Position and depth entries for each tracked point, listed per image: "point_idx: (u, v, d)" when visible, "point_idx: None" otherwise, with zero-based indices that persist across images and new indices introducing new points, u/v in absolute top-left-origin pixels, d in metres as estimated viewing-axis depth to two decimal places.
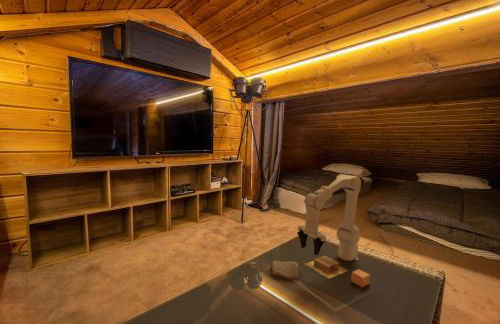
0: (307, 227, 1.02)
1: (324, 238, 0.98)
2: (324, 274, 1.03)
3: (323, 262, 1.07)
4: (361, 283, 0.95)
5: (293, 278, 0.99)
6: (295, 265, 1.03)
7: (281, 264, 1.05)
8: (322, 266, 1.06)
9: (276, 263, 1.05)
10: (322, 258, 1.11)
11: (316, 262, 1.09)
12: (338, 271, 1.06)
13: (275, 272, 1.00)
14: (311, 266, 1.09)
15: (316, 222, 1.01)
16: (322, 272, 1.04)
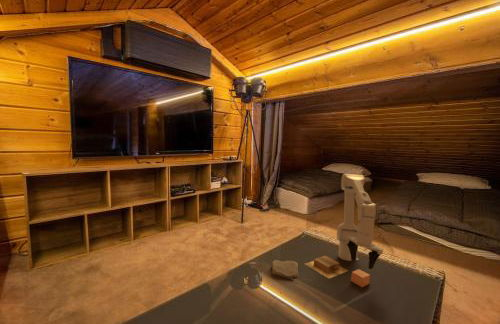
0: (360, 239, 0.95)
1: (381, 251, 0.91)
2: (324, 274, 1.03)
3: (323, 262, 1.07)
4: (361, 283, 0.95)
5: None
6: (295, 264, 1.04)
7: (281, 263, 1.05)
8: (322, 266, 1.06)
9: (276, 262, 1.06)
10: (322, 258, 1.11)
11: (316, 262, 1.09)
12: (338, 271, 1.06)
13: (275, 271, 1.00)
14: (311, 266, 1.09)
15: None
16: (322, 272, 1.04)
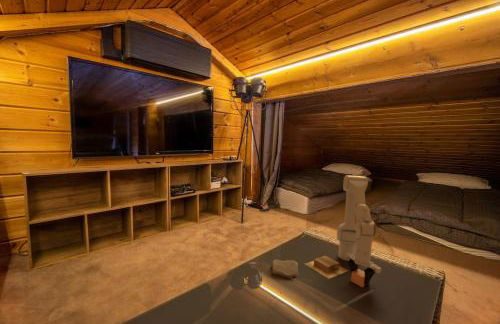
0: (359, 257, 0.96)
1: (379, 270, 0.92)
2: (324, 274, 1.03)
3: (323, 262, 1.07)
4: (361, 283, 0.95)
5: None
6: (295, 264, 1.05)
7: (281, 263, 1.06)
8: (322, 266, 1.06)
9: (276, 262, 1.06)
10: (322, 258, 1.11)
11: (316, 262, 1.09)
12: (338, 271, 1.06)
13: (275, 271, 1.01)
14: (311, 266, 1.09)
15: None
16: (322, 272, 1.04)
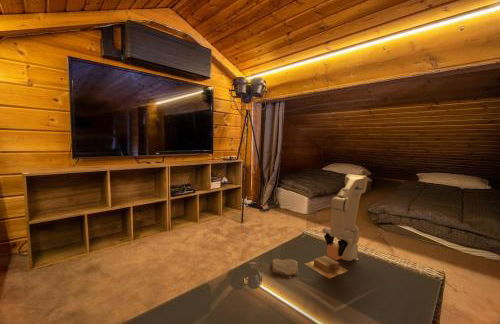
0: (333, 230, 1.04)
1: (351, 241, 1.00)
2: (324, 274, 1.03)
3: (323, 262, 1.07)
4: (335, 254, 1.03)
5: None
6: (295, 263, 1.05)
7: (281, 262, 1.07)
8: (322, 266, 1.06)
9: (276, 261, 1.07)
10: (322, 258, 1.11)
11: (316, 262, 1.09)
12: (338, 271, 1.06)
13: (275, 270, 1.02)
14: (311, 266, 1.09)
15: (343, 225, 1.03)
16: (322, 272, 1.04)
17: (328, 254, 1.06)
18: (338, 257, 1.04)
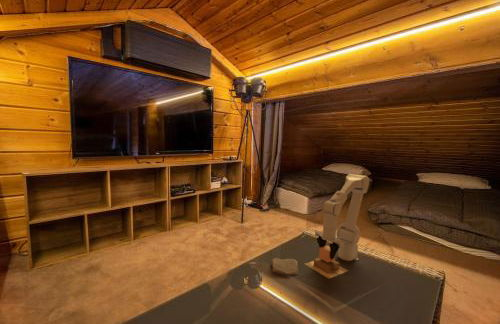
0: (325, 233, 1.06)
1: (342, 244, 1.02)
2: (324, 274, 1.03)
3: (323, 262, 1.07)
4: (327, 256, 1.06)
5: None
6: (295, 262, 1.06)
7: (281, 261, 1.07)
8: (322, 266, 1.06)
9: (276, 261, 1.08)
10: None
11: (316, 262, 1.09)
12: (338, 271, 1.06)
13: (275, 269, 1.02)
14: (311, 266, 1.09)
15: (334, 228, 1.05)
16: (322, 272, 1.04)
17: (320, 257, 1.09)
18: (330, 260, 1.06)
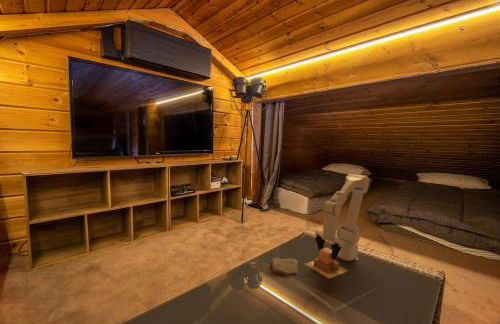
0: (325, 233, 1.06)
1: (342, 244, 1.02)
2: (324, 274, 1.03)
3: None
4: (326, 258, 1.06)
5: None
6: (294, 262, 1.06)
7: (281, 261, 1.08)
8: (322, 266, 1.06)
9: (276, 260, 1.08)
10: None
11: (316, 262, 1.09)
12: (338, 271, 1.06)
13: (275, 269, 1.03)
14: (311, 266, 1.09)
15: (334, 228, 1.05)
16: (322, 272, 1.04)
17: (320, 259, 1.09)
18: (329, 262, 1.06)
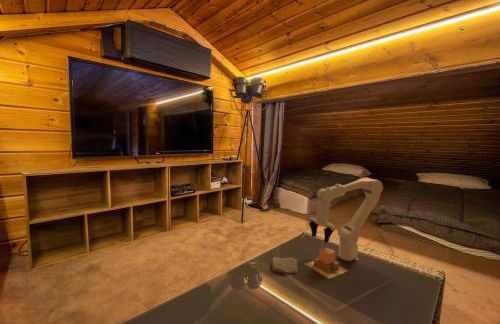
0: (318, 218, 1.16)
1: (333, 227, 1.12)
2: (324, 274, 1.03)
3: None
4: (326, 258, 1.06)
5: None
6: (294, 261, 1.07)
7: (281, 260, 1.08)
8: (322, 266, 1.06)
9: (276, 259, 1.09)
10: None
11: (316, 262, 1.09)
12: (338, 271, 1.06)
13: (275, 268, 1.03)
14: (311, 266, 1.09)
15: (324, 213, 1.14)
16: (322, 272, 1.04)
17: (320, 259, 1.09)
18: (329, 262, 1.06)
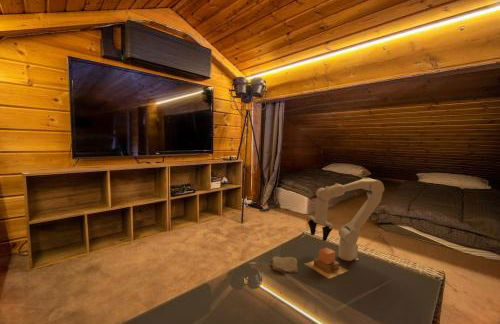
0: (317, 217, 1.18)
1: (332, 226, 1.14)
2: (324, 274, 1.03)
3: None
4: (326, 258, 1.06)
5: None
6: (294, 260, 1.08)
7: (281, 260, 1.09)
8: (322, 266, 1.06)
9: (276, 259, 1.09)
10: None
11: (316, 262, 1.09)
12: (338, 271, 1.06)
13: (275, 267, 1.04)
14: (311, 266, 1.09)
15: (322, 212, 1.16)
16: (322, 272, 1.04)
17: (320, 259, 1.09)
18: (329, 262, 1.06)
